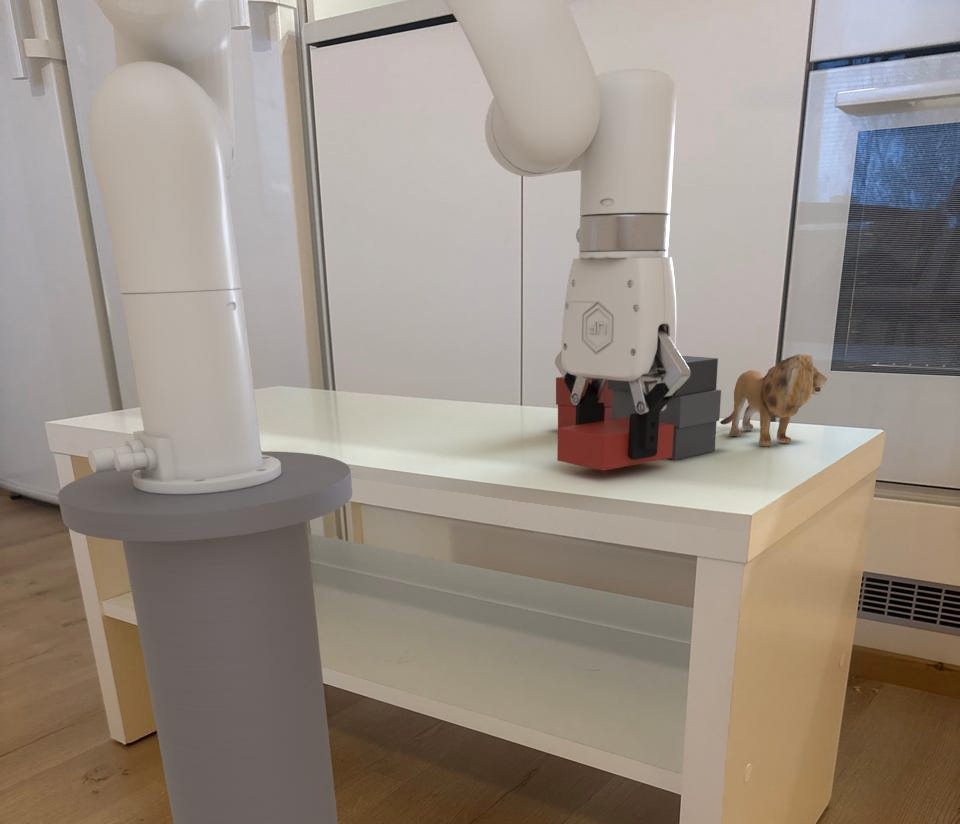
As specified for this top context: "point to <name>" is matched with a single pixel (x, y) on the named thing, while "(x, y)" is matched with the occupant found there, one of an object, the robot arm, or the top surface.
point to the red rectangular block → (606, 444)
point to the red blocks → (569, 409)
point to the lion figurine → (775, 395)
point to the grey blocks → (682, 408)
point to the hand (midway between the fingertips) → (615, 450)
